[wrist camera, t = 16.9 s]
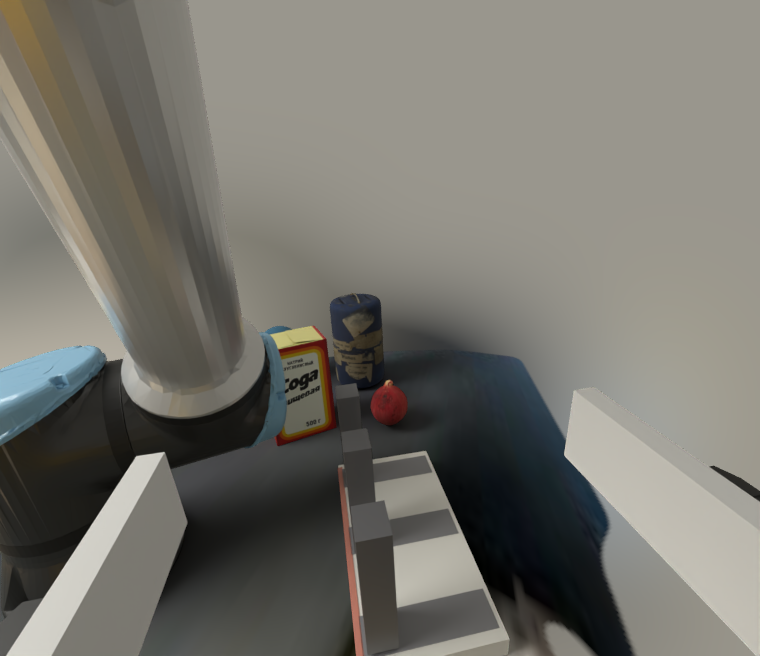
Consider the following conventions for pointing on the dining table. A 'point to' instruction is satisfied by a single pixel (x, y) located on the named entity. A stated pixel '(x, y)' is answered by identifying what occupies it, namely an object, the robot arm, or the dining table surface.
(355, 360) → the dark blue cylinder
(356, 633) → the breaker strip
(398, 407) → the pomegranate
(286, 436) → the baking soda box
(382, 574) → the block
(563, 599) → the dining table surface
